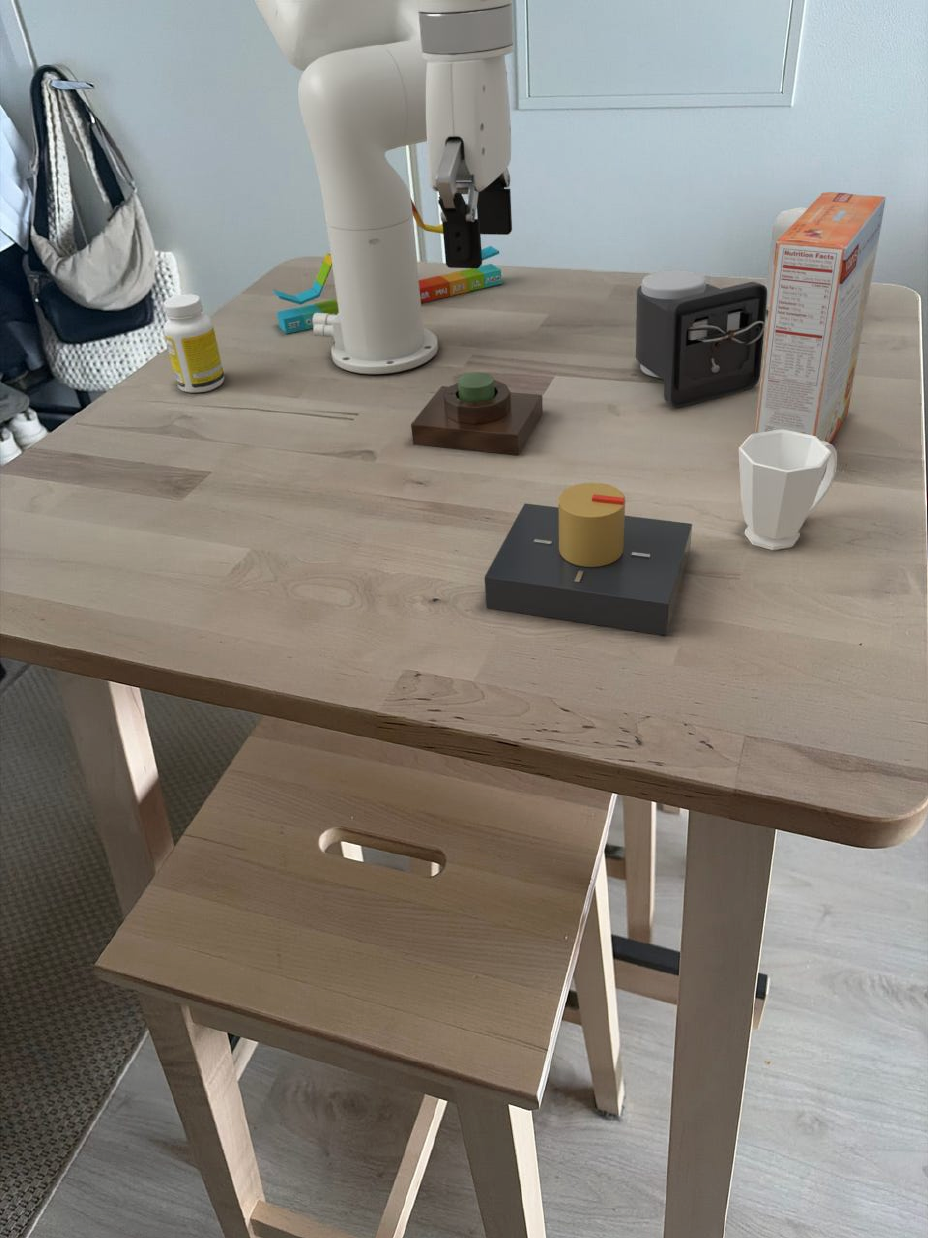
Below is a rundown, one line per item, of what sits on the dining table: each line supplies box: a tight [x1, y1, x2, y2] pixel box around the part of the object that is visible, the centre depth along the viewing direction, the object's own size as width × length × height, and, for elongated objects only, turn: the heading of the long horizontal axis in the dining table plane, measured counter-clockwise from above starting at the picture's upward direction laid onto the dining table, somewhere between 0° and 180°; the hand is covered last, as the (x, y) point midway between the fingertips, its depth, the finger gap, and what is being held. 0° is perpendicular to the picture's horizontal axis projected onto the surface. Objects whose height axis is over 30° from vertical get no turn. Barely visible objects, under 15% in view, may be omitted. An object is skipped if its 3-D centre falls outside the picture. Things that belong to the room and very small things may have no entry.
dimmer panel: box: [484, 503, 693, 636], centre depth 79 cm, size 14×11×3 cm
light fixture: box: [635, 269, 767, 409], centre depth 105 cm, size 11×13×11 cm
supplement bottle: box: [162, 293, 225, 394], centre depth 112 cm, size 5×5×10 cm
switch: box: [457, 371, 495, 402], centre depth 99 cm, size 4×4×2 cm
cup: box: [738, 429, 838, 551], centre depth 81 cm, size 7×10×8 cm
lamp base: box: [410, 379, 544, 456], centre depth 100 cm, size 11×9×4 cm
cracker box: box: [754, 191, 886, 444], centre depth 89 cm, size 14×6×21 cm, turn 150°
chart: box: [272, 198, 502, 335], centre depth 126 cm, size 30×3×15 cm, turn 115°
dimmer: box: [558, 482, 626, 567], centre depth 76 cm, size 5×5×5 cm
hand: (480, 249), depth 91 cm, fingers open, 9 cm apart
